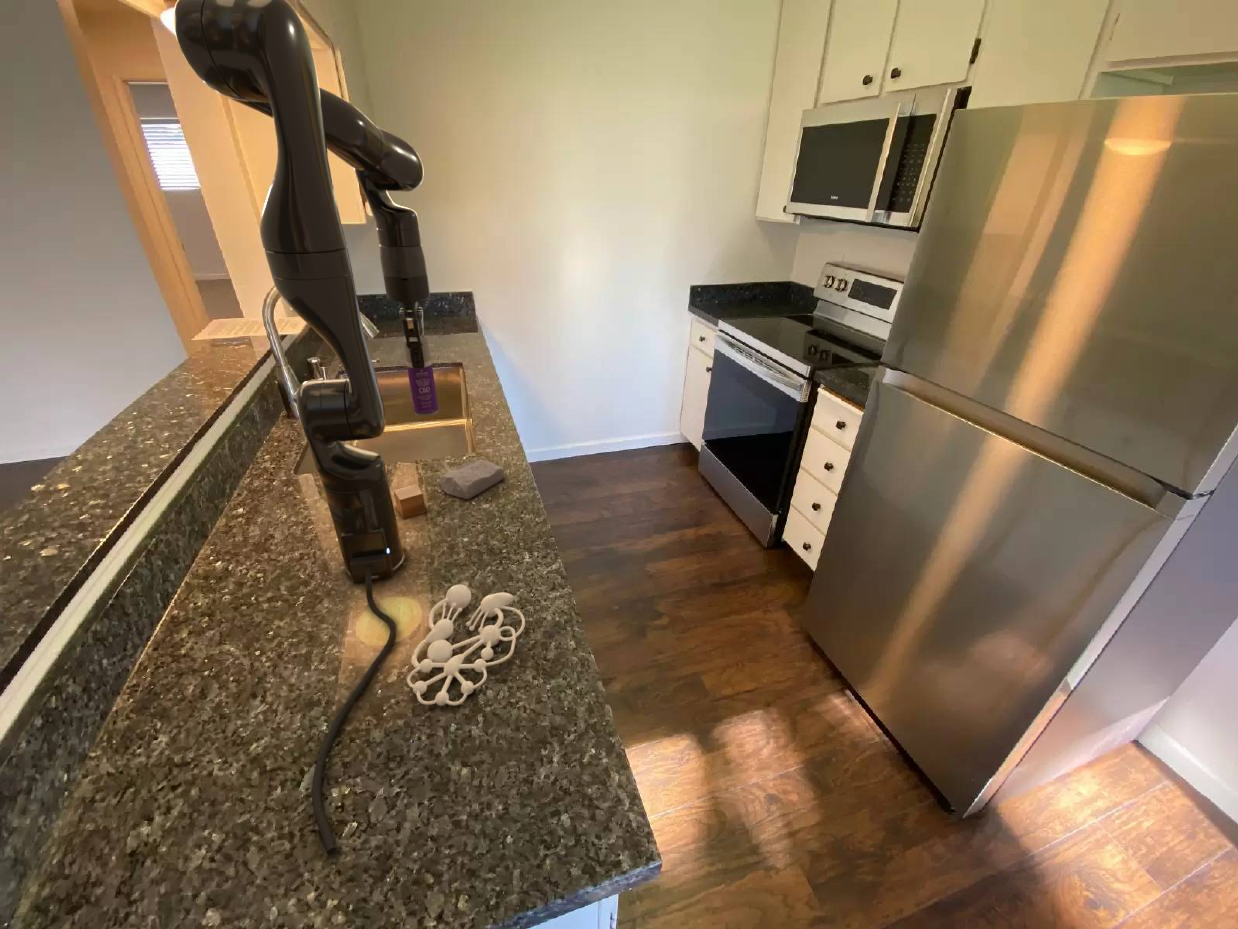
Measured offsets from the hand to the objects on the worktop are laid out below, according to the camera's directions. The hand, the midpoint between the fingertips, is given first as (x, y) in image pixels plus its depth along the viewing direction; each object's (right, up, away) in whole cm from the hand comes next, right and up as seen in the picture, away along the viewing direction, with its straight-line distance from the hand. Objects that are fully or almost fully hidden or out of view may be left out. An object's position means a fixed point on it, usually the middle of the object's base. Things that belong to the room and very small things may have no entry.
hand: (419, 363), depth 102 cm
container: (0, -9, +5) cm, 11 cm away
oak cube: (-3, -29, +3) cm, 29 cm away
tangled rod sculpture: (+18, -46, -27) cm, 56 cm away
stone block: (+6, -24, +13) cm, 28 cm away
